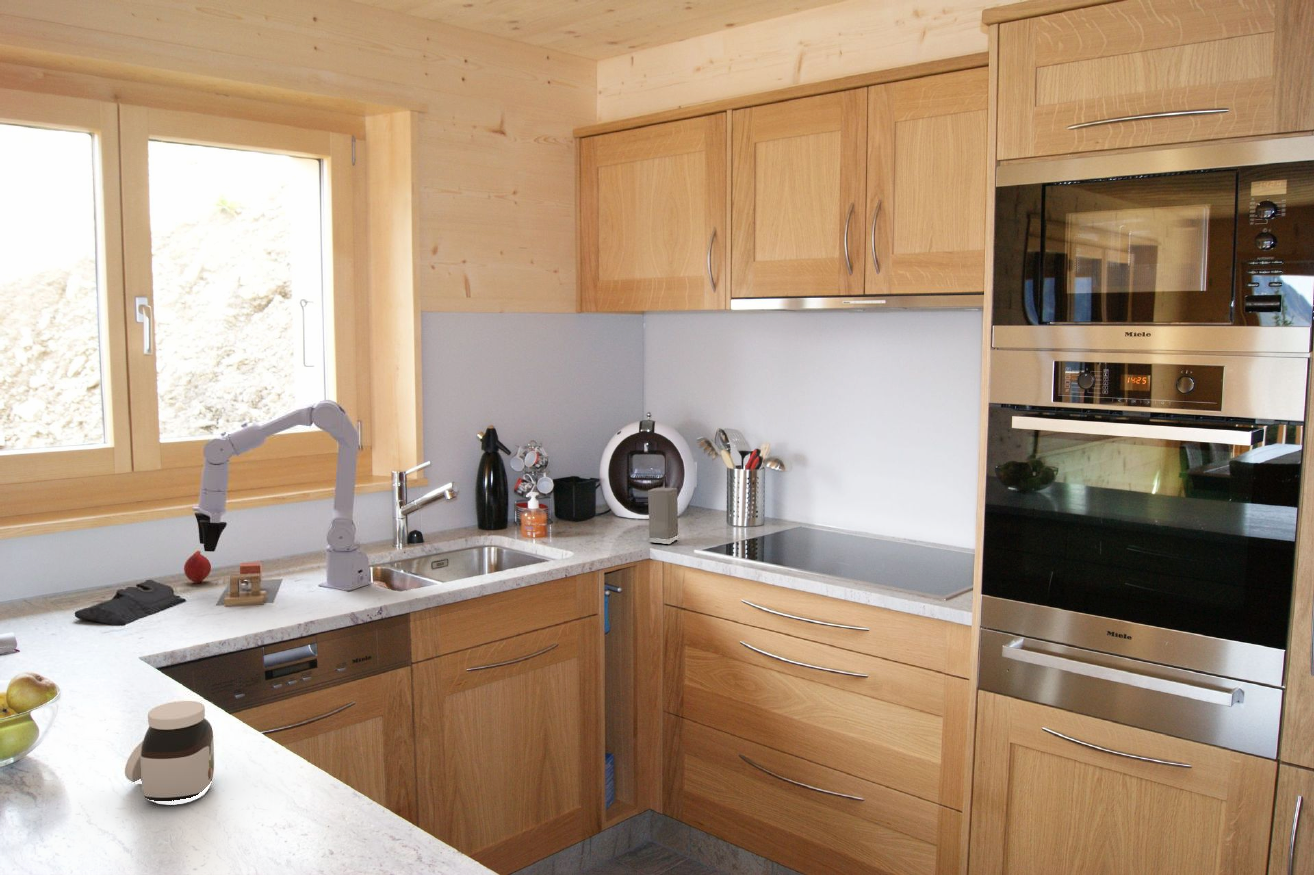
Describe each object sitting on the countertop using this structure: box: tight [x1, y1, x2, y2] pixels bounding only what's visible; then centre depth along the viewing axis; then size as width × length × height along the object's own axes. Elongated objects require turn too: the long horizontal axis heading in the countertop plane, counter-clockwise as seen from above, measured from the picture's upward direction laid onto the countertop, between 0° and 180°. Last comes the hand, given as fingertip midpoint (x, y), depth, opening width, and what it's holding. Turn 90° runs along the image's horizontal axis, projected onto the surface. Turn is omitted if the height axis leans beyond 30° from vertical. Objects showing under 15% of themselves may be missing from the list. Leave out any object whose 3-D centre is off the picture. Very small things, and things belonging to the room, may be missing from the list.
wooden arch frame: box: [223, 573, 266, 607], centre depth 232 cm, size 6×8×6 cm
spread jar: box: [124, 700, 215, 801], centre depth 139 cm, size 12×11×12 cm
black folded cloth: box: [74, 579, 187, 626], centre depth 225 cm, size 15×22×5 cm
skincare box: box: [647, 487, 679, 539], centre depth 302 cm, size 8×7×16 cm
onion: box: [183, 549, 212, 584], centre depth 248 cm, size 6×6×8 cm
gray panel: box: [215, 578, 283, 606], centre depth 241 cm, size 22×12×1 cm, turn 15°
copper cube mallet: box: [239, 561, 263, 591], centre depth 236 cm, size 16×4×4 cm, turn 15°
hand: (207, 547), depth 240 cm, fingers open, 7 cm apart
